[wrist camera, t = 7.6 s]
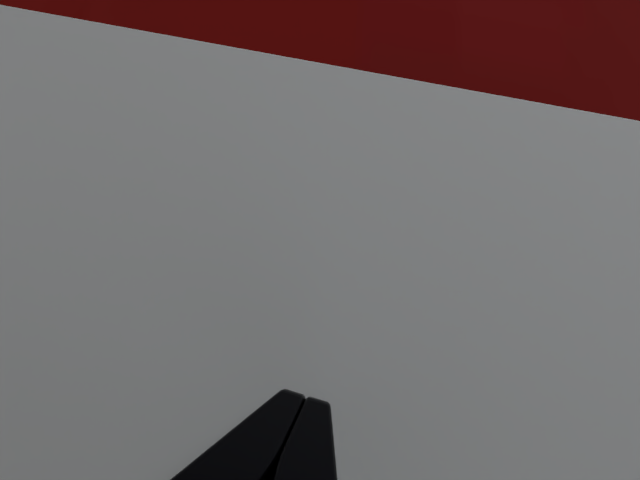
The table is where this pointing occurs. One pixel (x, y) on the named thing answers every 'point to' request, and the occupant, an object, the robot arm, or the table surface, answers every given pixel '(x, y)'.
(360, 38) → the table surface
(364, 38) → the table surface
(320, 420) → the robot arm
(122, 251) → the panel
